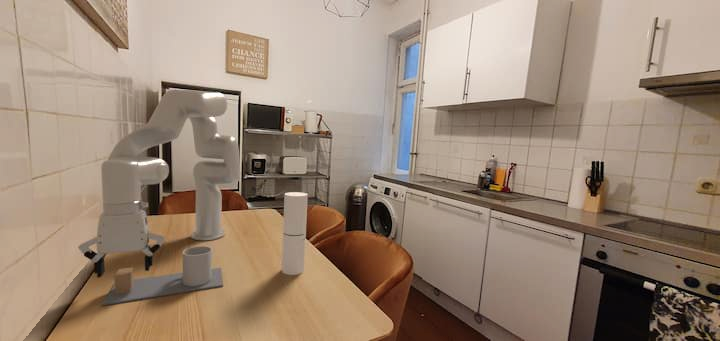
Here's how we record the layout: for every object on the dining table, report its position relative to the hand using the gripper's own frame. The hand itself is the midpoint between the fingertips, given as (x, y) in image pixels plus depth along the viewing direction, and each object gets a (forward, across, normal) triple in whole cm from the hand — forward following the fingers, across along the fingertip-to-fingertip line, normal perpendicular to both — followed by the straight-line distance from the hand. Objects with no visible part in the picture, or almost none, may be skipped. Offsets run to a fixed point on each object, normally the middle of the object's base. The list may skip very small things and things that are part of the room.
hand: (125, 271), depth 75 cm
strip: (+5, -10, +1) cm, 11 cm away
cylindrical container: (+6, -44, +3) cm, 44 cm away
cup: (+5, -16, +1) cm, 17 cm away
